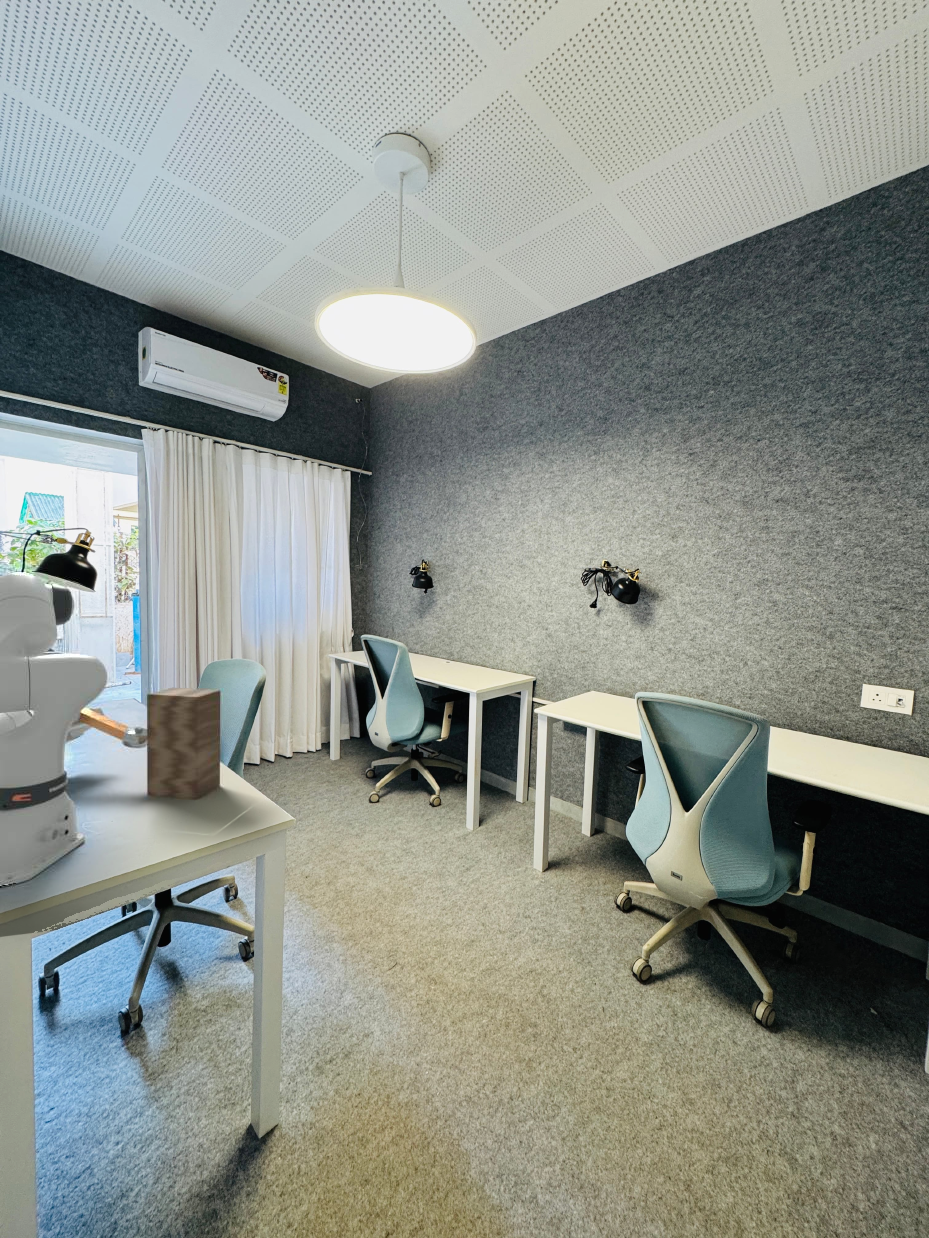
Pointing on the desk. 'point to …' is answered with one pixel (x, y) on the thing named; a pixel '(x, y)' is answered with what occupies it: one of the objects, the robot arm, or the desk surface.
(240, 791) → the desk surface
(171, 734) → the pedestal
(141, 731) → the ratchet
